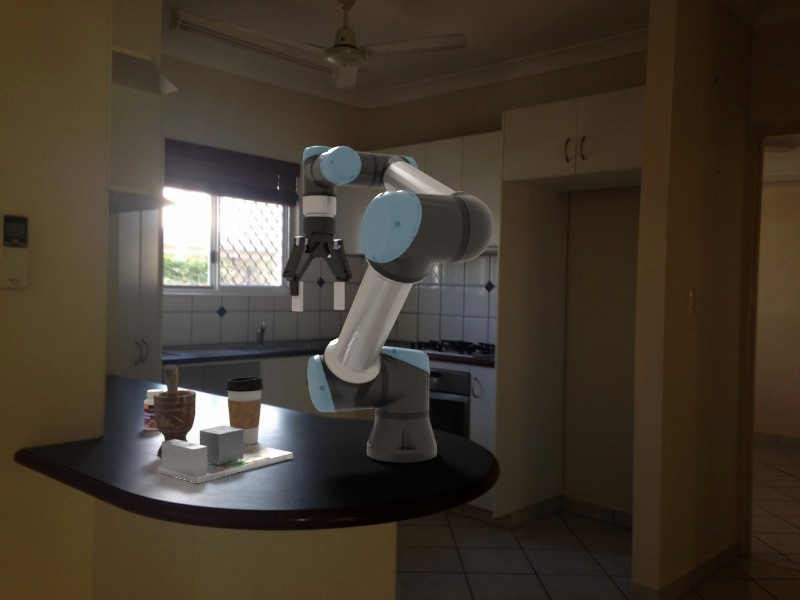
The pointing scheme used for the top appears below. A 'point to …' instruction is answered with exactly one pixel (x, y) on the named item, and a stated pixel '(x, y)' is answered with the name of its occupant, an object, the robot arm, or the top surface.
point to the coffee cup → (245, 406)
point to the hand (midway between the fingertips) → (319, 310)
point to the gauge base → (194, 467)
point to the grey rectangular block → (222, 444)
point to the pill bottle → (150, 410)
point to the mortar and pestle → (174, 408)
